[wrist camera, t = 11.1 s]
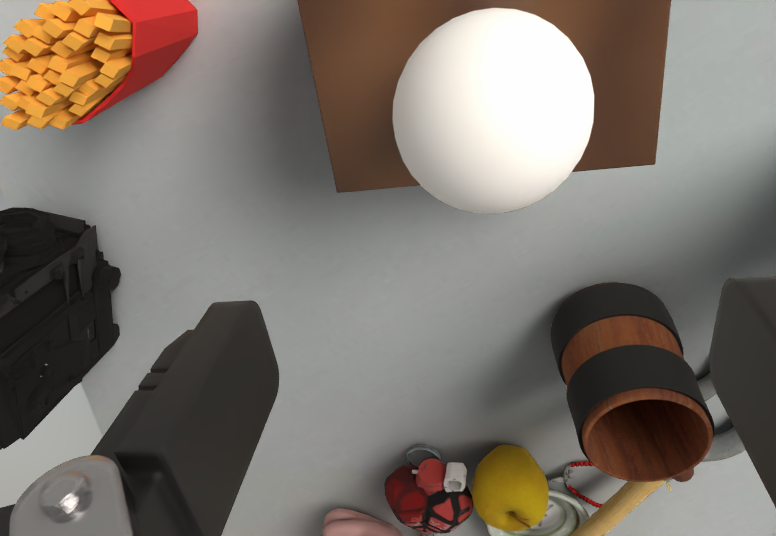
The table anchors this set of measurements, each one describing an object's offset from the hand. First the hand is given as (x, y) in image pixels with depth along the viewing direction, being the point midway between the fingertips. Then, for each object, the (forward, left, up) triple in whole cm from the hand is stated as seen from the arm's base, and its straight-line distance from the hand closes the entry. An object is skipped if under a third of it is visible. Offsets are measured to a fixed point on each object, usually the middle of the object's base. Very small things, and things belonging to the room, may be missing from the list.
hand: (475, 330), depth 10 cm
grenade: (+7, +43, -26) cm, 50 cm away
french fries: (+20, -3, -29) cm, 35 cm away
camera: (+34, +14, -29) cm, 47 cm away
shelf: (0, -1, -29) cm, 29 cm away
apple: (-1, +36, -29) cm, 46 cm away
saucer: (-3, +44, -29) cm, 53 cm away
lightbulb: (-1, -1, -18) cm, 18 cm away
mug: (-10, +23, -29) cm, 38 cm away
